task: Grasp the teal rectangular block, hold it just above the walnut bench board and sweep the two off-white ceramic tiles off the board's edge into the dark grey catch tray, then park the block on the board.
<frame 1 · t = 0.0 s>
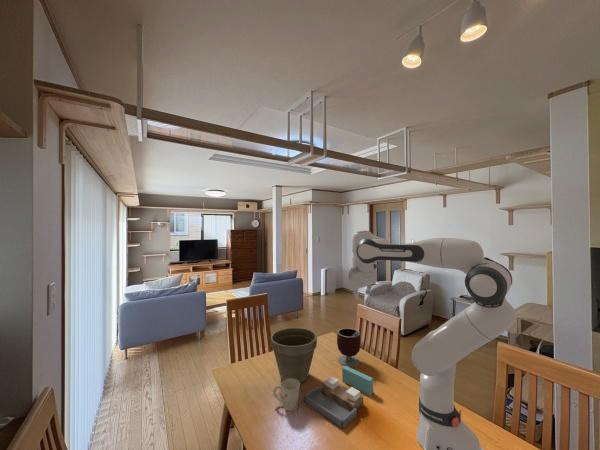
hand: (362, 296, 115), 48 cm above the table, fingers open, 8 cm apart
teal rectangular block: (357, 386, 125), on the table
plant pot: (294, 376, 135), on the table
bench board: (341, 399, 116), on the table
catch tray: (329, 409, 110), on the table
tile b: (332, 385, 121), point 3 cm above the table, touching bench board
mug: (286, 406, 112), on the table
tile a: (353, 397, 112), point 3 cm above the table, touching bench board
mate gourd: (350, 362, 149), on the table
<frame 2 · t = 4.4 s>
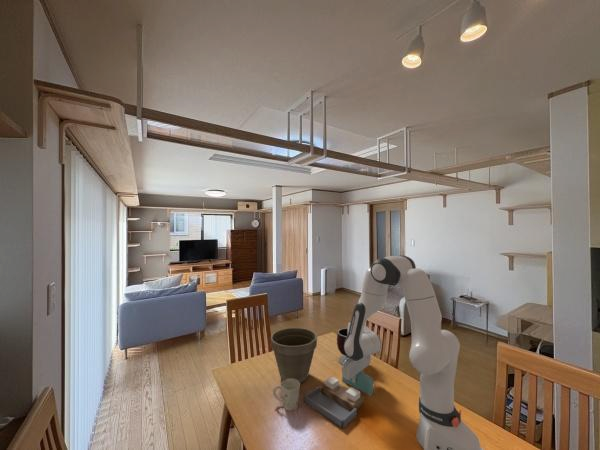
hand: (357, 380, 125), 3 cm above the table, fingers closed on teal rectangular block, 3 cm apart
teal rectangular block: (357, 386, 125), on the table, touching gripper
everything else where it was.
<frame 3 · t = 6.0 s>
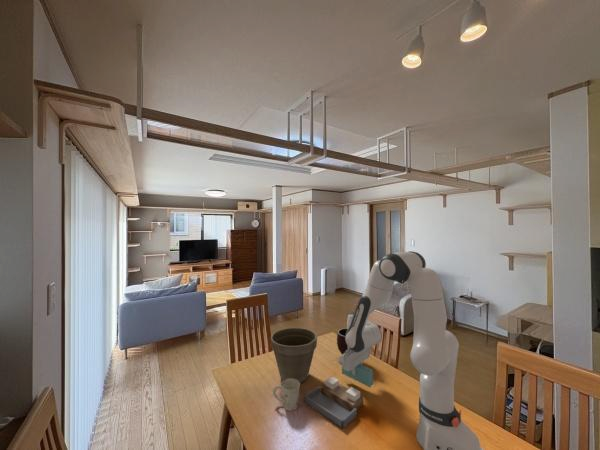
hand: (356, 372, 125), 7 cm above the table, fingers closed on teal rectangular block, 3 cm apart
teal rectangular block: (356, 378, 125), point 4 cm above the table, touching gripper
everything else where it was.
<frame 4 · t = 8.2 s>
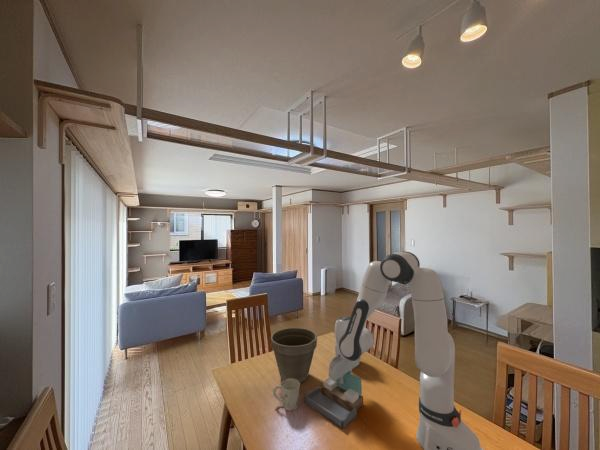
hand: (345, 380, 118), 7 cm above the table, fingers closed on teal rectangular block, 3 cm apart
teal rectangular block: (345, 387, 118), point 4 cm above the table, touching gripper, tile b
tile b: (330, 386, 120), point 4 cm above the table, touching bench board, teal rectangular block
tile a: (351, 398, 111), point 4 cm above the table, touching bench board
everything else where it was.
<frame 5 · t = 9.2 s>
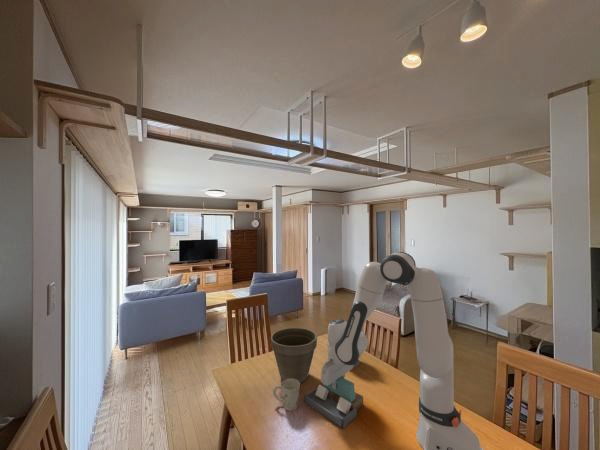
hand: (338, 385, 115), 7 cm above the table, fingers closed on teal rectangular block, 3 cm apart
teal rectangular block: (338, 392, 115), point 4 cm above the table, tilted 5°, touching gripper
tile b: (323, 393, 117), point 2 cm above the table, tilted 50°, touching catch tray
tile a: (345, 406, 108), point 2 cm above the table, tilted 49°, touching catch tray
everything else where it was.
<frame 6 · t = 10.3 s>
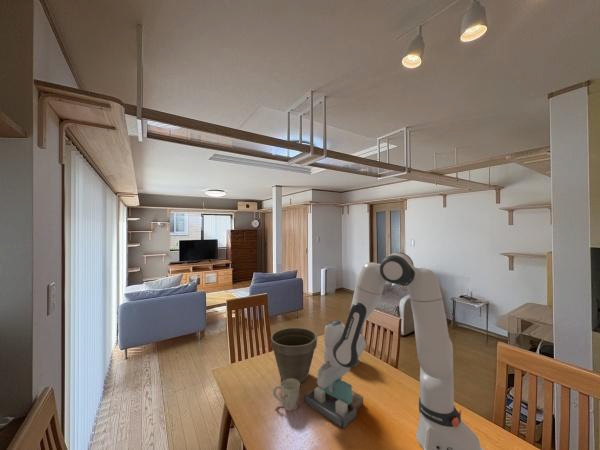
hand: (334, 388, 113), 7 cm above the table, fingers closed on teal rectangular block, 3 cm apart
teal rectangular block: (335, 395, 113), point 4 cm above the table, touching gripper
tile b: (321, 393, 116), point 3 cm above the table, tilted 90°, touching catch tray
tile a: (343, 406, 107), point 3 cm above the table, tilted 90°, touching catch tray
everything else where it was.
when the fingers open (7 cm above the table, at t = 13.5 s): teal rectangular block stays where it is, resting on bench board.
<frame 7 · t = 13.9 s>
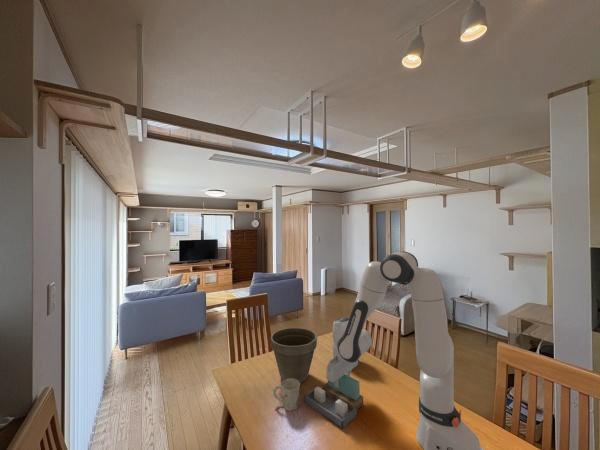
hand: (342, 382, 117), 7 cm above the table, fingers open, 7 cm apart
teal rectangular block: (343, 390, 117), point 3 cm above the table, touching bench board
everything else where it was.
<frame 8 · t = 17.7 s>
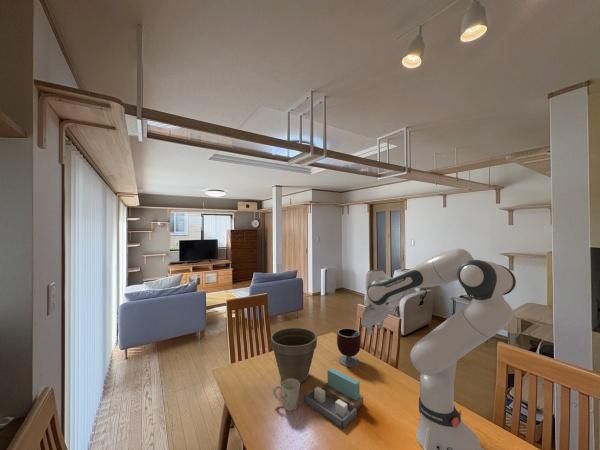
hand: (375, 331, 121), 29 cm above the table, fingers open, 8 cm apart
nothing on the table moved.
at the end: tile a inside the target area on the catch tray (6.4 cm from its centre), point 2.8 cm above the catch tray's base; tile b inside the target area on the catch tray (6.6 cm from its centre), point 2.8 cm above the catch tray's base; the gripper is holding nothing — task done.
